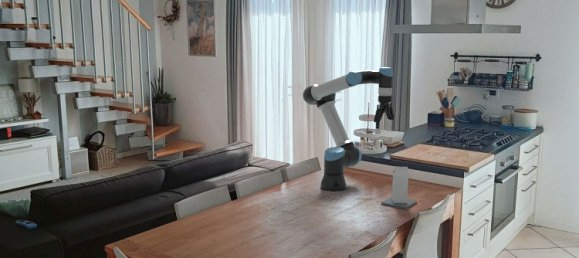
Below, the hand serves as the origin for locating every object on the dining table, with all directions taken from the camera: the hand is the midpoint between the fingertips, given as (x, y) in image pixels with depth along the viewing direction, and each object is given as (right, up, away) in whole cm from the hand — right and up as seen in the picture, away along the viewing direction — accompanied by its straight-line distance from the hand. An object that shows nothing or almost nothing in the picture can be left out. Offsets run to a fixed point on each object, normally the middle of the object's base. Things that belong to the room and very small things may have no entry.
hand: (383, 132), depth 296 cm
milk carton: (+6, -37, -16) cm, 41 cm away
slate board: (+6, -38, -16) cm, 42 cm away
